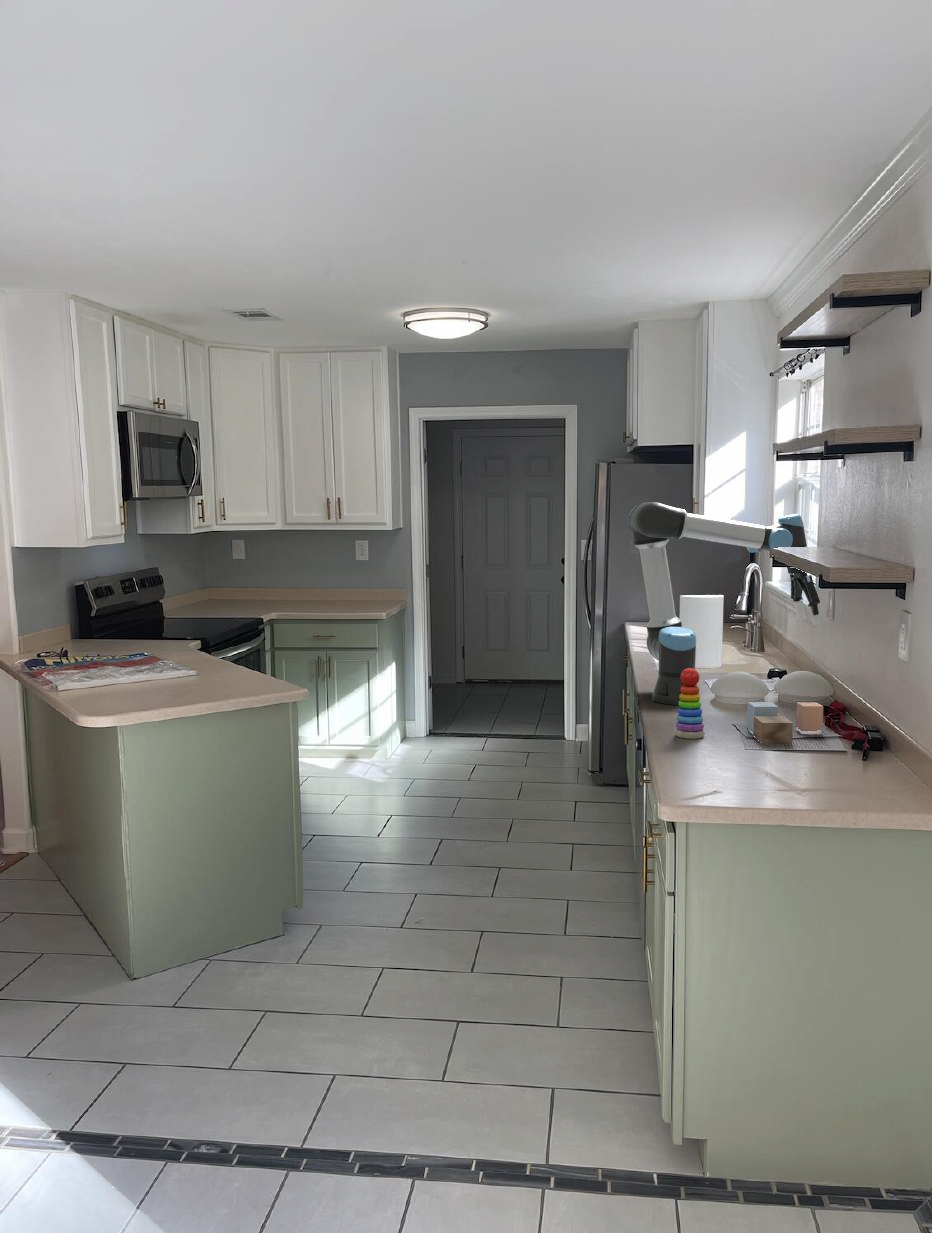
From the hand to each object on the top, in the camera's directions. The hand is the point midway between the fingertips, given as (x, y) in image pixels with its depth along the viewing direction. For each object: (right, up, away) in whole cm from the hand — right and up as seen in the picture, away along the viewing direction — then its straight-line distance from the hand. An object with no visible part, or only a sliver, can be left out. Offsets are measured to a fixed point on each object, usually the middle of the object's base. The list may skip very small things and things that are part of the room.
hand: (809, 622), depth 326 cm
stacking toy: (-55, -31, -62) cm, 88 cm away
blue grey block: (-33, -30, -57) cm, 73 cm away
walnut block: (-34, -32, -67) cm, 81 cm away
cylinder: (-22, -18, +62) cm, 68 cm away
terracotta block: (-20, -30, -57) cm, 68 cm away
